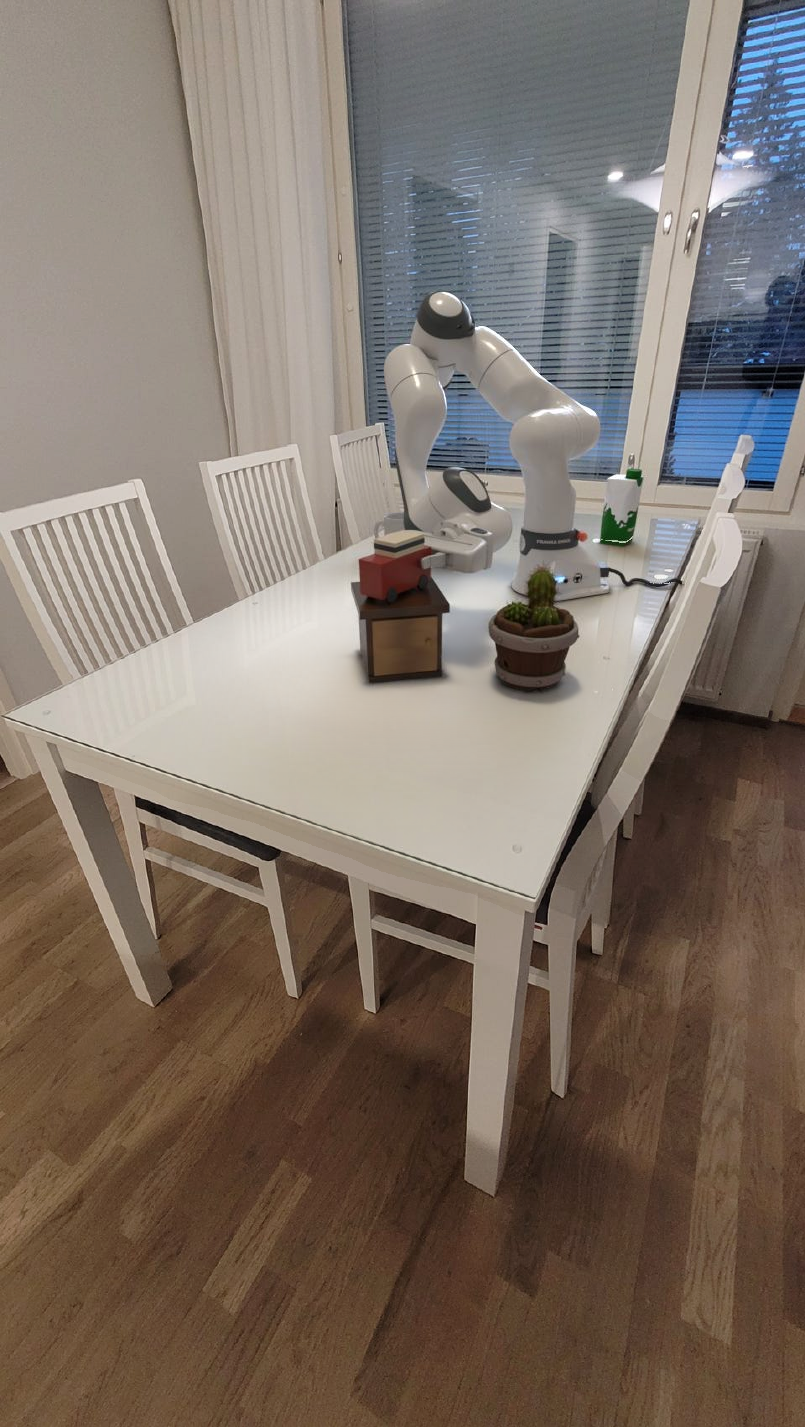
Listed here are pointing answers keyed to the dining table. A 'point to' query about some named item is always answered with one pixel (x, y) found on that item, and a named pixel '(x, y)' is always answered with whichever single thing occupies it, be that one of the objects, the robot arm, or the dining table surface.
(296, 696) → the dining table surface
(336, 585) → the dining table surface
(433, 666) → the cabinet
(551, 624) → the flowerpot
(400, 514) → the mug
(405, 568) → the car
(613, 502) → the milk carton
